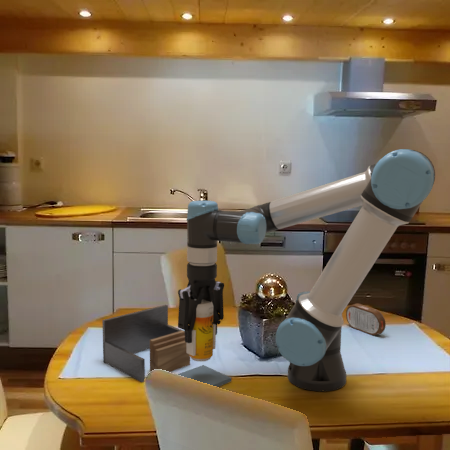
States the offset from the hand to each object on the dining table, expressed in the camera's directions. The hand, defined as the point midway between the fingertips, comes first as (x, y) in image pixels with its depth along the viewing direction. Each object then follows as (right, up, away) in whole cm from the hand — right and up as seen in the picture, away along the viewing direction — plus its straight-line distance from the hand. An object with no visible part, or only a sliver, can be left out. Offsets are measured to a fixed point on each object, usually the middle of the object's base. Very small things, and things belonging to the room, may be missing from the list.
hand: (201, 350), depth 138 cm
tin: (+52, -3, +40) cm, 66 cm away
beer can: (0, -2, 0) cm, 2 cm away
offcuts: (-9, -7, +9) cm, 14 cm away
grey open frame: (-14, -6, +14) cm, 20 cm away
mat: (0, -8, +1) cm, 8 cm away
